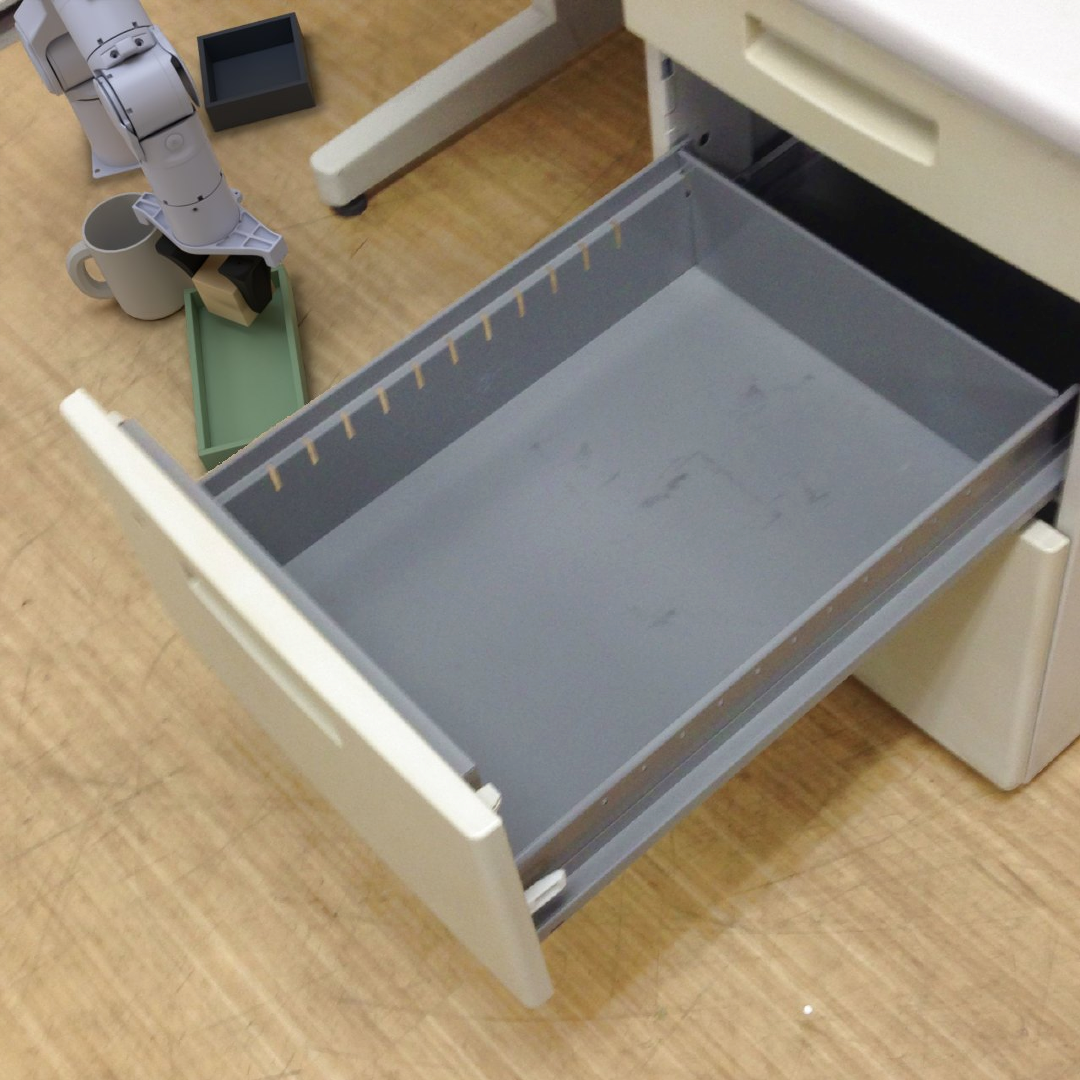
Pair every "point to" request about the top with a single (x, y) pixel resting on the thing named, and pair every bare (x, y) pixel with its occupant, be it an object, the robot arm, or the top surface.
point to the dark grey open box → (255, 72)
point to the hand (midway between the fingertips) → (240, 296)
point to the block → (222, 292)
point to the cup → (127, 261)
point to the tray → (243, 371)
